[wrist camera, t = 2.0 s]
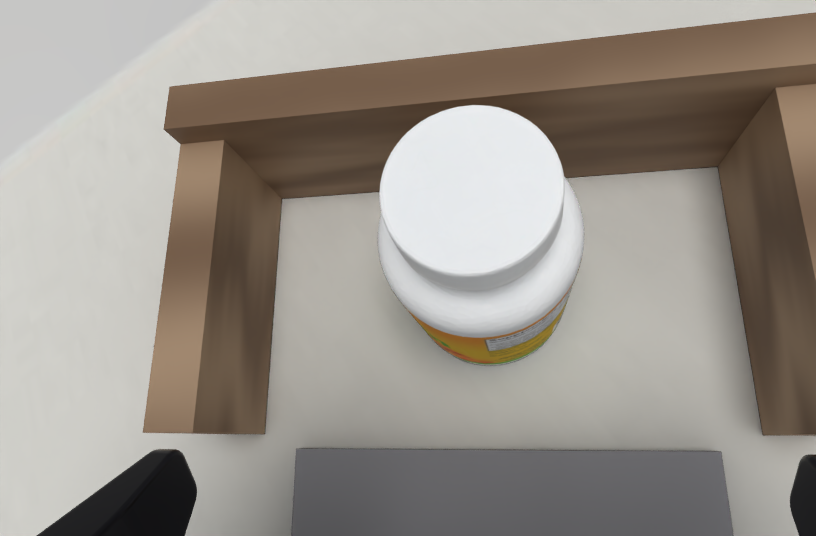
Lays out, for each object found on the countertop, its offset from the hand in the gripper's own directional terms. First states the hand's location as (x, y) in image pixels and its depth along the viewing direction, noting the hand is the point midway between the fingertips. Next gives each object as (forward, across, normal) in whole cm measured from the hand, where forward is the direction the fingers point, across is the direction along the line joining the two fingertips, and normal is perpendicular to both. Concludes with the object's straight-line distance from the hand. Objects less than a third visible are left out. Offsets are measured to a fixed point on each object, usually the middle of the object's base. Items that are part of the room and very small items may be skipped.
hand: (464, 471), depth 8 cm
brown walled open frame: (+12, 0, +4) cm, 13 cm away
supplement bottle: (+12, 0, +5) cm, 13 cm away
